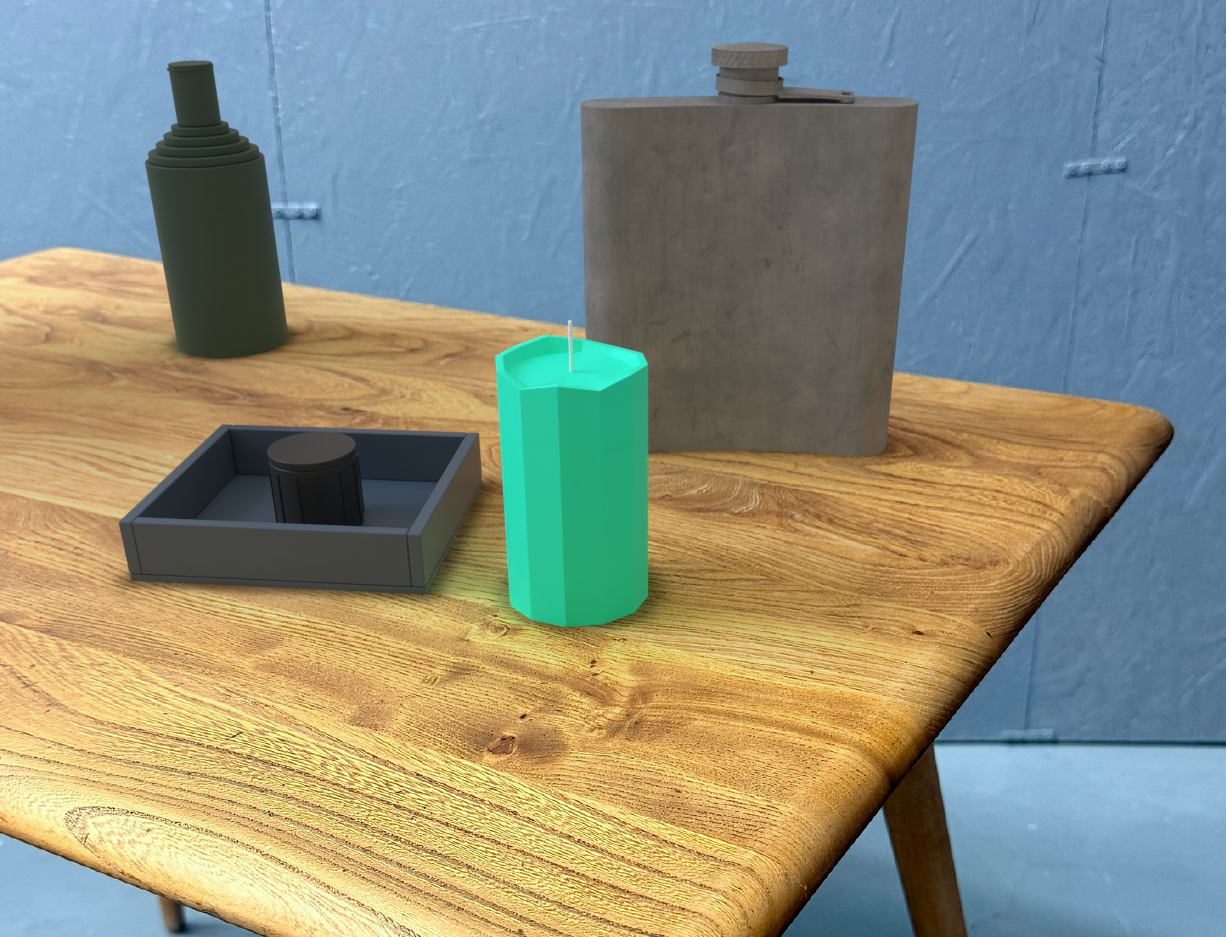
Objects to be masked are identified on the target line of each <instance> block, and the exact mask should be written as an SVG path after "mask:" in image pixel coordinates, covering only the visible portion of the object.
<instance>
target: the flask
mask: <svg viewBox="0 0 1226 937" xmlns="http://www.w3.org/2000/svg"><path fill="white" fill-rule="evenodd" d="M214 67H215V66H214V63H213V61H210V60H181V61H180V60H179V61H171V62H170V63H167V68H166V71H167V72H168V75H169V80H170V86H171V93H172V99H173V105H174V111H175V117H176V122H175V123H173V124H171V125H170V130H169V131H167V132H165V133H163V135H162V138H163V139H161V140H158V141H157V142H156V143H155V148H153V149H151V150H149V151H148V152H147V157H148V158H147V159H146V160H145V161H144V166H145V171H146V177H147V183H148V189H149V194H150V200H151V205H152V210H153V217H154V221H155V222H154V223H155V228H156V233H157V239H158V245H159V250H160V256H161V262H162V267H163V272H164V277H165V278H164V279H165V284H166V289H167V296H168V300H169V306H170V311H171V317H172V323H173V329H174V334H175V341H176V345H177V349H178V350H179V352H181V353H183V354H185V355H188V356H191V357H197V358H204V359H232V358H241V357H249V356H253V355H258V354H263V353H266V352H270V351H272V350H275V349H277V348H280V347H282V346H283V345H285V344H286V343H288V341H289V338H290V336H289V328H288V323H287V314H286V313H287V312H286V307H285V299H284V293H283V291H284V290H283V285H282V278H281V270H280V263H279V255H278V248H277V240H276V234H275V232H276V231H275V225H274V217H273V211H272V210H273V209H272V203H271V196H270V189H269V188H270V187H269V180H268V174H267V166H266V159H265V154H264V153H262V152H261V151H260V147H259V145H257V144H255V143H253V142H250V140H249V138H248V137H247V136H245V135H240V132H239V130H238V129H237V128H232V127H230V124H229V122H228V121H227V120H226V121H225V120H222V118H221V110H220V105H219V104H220V103H219V96H218V90H217V84H216V77H215V70H214Z"/></svg>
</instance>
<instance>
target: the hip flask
mask: <svg viewBox="0 0 1226 937" xmlns="http://www.w3.org/2000/svg"><path fill="white" fill-rule="evenodd" d="M710 56H711V57H710V59H711V60H710V64H711V66H714V67H718V72H717V73H716V74H715V85H714V89H715V90H716V91H717V95H684V96H683V95H679V96H677V95H675V96H641V97H640V96H637V97H607V98H593V99H587V100H584V101H581V102H580V104H579V106H580V143H581V144H580V145H581V147H580V148H581V150H580V151H581V185H582V186H581V187H582V188H581V189H582V228H583V229H582V231H583V234H582V235H583V271H584V273H583V276H584V277H583V278H584V280H583V281H584V282H583V283H584V319H585V320H584V322H585V323H584V324H585V325H584V326H585V339H586V340H590V341H595V342H599V343H603V344H608V345H612V346H617V347H621V348H625V349H629V350H633V351H636V352H640V353H643V355H644V357H645V359H646V361H647V363H648V453H654V452H657V453H658V452H687V451H691V452H693V451H739V452H741V451H745V452H747V451H749V452H750V451H751V452H752V451H753V452H782V453H783V452H786V453H803V454H804V453H805V454H819V455H820V454H821V455H833V456H845V457H857V458H859V457H864V458H865V457H872V456H875V455H880V454H882V453H883V452H885V451H886V449H887V444H888V443H887V442H888V433H889V432H888V431H889V421H890V410H891V400H892V390H893V378H894V369H895V358H896V346H897V336H898V327H899V315H900V306H901V295H902V285H903V275H904V274H903V273H904V264H905V253H906V252H905V251H906V242H907V241H906V240H907V234H908V233H907V232H908V221H909V210H910V201H911V189H912V180H913V179H912V178H913V171H914V170H913V167H914V158H915V147H916V138H917V137H916V136H917V125H918V117H919V106H920V102H919V101H918V100H916V99H912V98H906V97H895V96H865V95H863V96H862V95H861V96H860V95H859V96H858V95H856V96H855V92H854V91H852V90H842V89H841V90H840V89H825V88H814V87H800V86H799V87H798V86H788V85H787V86H785V85H784V82H785V78H784V77H782V76H779V75H780V73H779V72H780V67H783V66H784V67H785V66H787V65H788V63H789V62H788V61H789V46H788V45H784V44H780V43H779V44H778V43H770V42H760V41H759V42H757V41H742V42H732V43H731V42H730V43H723V44H715V45H712V46H711V51H710Z"/></svg>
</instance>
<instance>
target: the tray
mask: <svg viewBox="0 0 1226 937" xmlns="http://www.w3.org/2000/svg"><path fill="white" fill-rule="evenodd" d="M307 432H334V433H340V434H344V435H347V436H349V437H351V438H352V439H353V440H354V441H355V443H356V450H357V455H358V457H359V466H360V475H361V483H362V492H363V501H364V510H365V512H364V522H363V524H362V526H337V525H313V524H289V523H276V517H275V510H274V504H273V497H272V491H271V484H270V477H269V471H268V466H269V460H268V455H267V451H268V448H269V447H270V446H271V445H272V444H273V443H274V442H276V441H278V440H280V439H282V438H285V437H288V436H291V435H296V434H301V433H307ZM480 440H481V439H480V433H479V432H472V431H471V432H470V431H469V432H466V431H442V430H441V431H438V430H412V429H411V430H410V429H409V430H408V429H378V428H377V429H376V428H353V427H352V428H351V427H350V428H348V427H347V428H346V427H321V426H319V427H318V426H290V425H289V426H288V425H287V426H285V425H262V424H261V425H258V424H257V425H256V424H231V423H230V424H229V423H228V424H226V423H222V424H221V425H220V426H218V427H217V429H215V430H214V431H213V432H212V433H211V434H210V435H209V436H208V437H207V438H206V439H204V440H203V442H201V444H200V445H198V447H196V448H195V449H194V450H193V451H192V452H191V453H190V454H189V455H188V456H187V457H186V458H185V459H184V460H182V461H181V462H180V464H178V465H177V466H176V467H175V468H174V469H173V470H172V471H171V472H170V473H169V474H168V475H166V477H165V478H163V479H162V480H161V482H159V483H158V484H157V485H156V486H155V487H154V488H153V489H152V490H150V492H149V493H148V494H146V495H145V496H144V497H143V498H142V499H141V500H140V501H139V502H138V503H137V504H136V505H135V506H133V507H132V509H131V510H129V511H128V512H127V513H126V514H125V515H124V516H123V517H122V518H121V519H119V521H118V526H119V531H120V536H121V540H122V546H123V550H124V556H125V559H126V565H127V569H128V573H129V578H130V581H131V582H146V583H147V582H149V583H170V584H191V585H212V586H231V587H232V586H233V587H234V586H235V587H251V588H252V587H255V588H274V589H277V588H278V589H294V590H295V589H298V590H316V591H317V590H320V591H340V592H358V593H360V592H361V593H379V594H380V593H382V594H383V593H384V594H401V595H403V594H404V595H421V596H422V595H427V594H428V592H429V590H430V588H431V586H432V584H433V582H434V581H435V578H436V577H437V574H438V572H439V571H440V569H441V567H442V565H443V563H444V561H445V560H446V557H447V555H448V553H449V552H450V549H451V548H452V546H453V543H454V542H455V541H456V538H457V536H458V534H459V532H460V530H461V528H462V527H463V524H464V523H465V521H466V518H467V517H468V515H469V513H470V511H471V509H472V507H473V505H474V503H475V501H476V500H477V497H478V495H479V493H480V492H481V490H482V488H483V480H482V479H483V471H482V470H483V469H482V457H481V456H482V455H481V442H480Z"/></svg>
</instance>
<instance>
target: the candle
mask: <svg viewBox="0 0 1226 937" xmlns="http://www.w3.org/2000/svg"><path fill="white" fill-rule="evenodd" d="M567 331H568V332H567V333H568V334H567V335H568V336H561V335H552V334H542V335H540V336H537V337H534V338H532V339H529V340H525V341H524V342H521V343H518V344H515V345H512V346H511V347H509V348H507V349H505V350H504V351H501V352H500V353H498V354H496V355H495V356H494V357H495V358H494V359H495V360H494V361H495V372H496V373H495V374H496V392H497V393H496V394H497V409H498V424H499V425H498V426H499V427H498V428H499V443H500V444H499V445H500V446H499V447H500V461H501V474H502V475H501V476H502V477H501V478H502V493H503V494H502V496H503V511H504V512H503V513H504V527H505V528H504V529H505V544H506V546H505V547H506V561H507V562H506V563H507V578H508V579H507V580H508V591H509V592H508V594H509V603H510V606H511V607H512V608H513V609H514V610H517V611H518V612H519V613H521V614H522V615H523V616H525V617H526V618H528V619H529V620H530V621H536V622H540V623H545V624H550V625H555V626H558V627H559V626H560V627H564V628H570V627H585V626H598V625H599V626H600V625H605V624H609V623H611V622H613V621H616V620H619V619H621V618H624V617H627V616H629V615H632V614H634V613H635V612H636V611H637V610H638V609H639V608H640V607H641V606H642V604H644V602H645V601H646V600H647V598H648V597H649V452H648V363H647V361H646V359H645V357H644V355H643V353H640V352H636V351H633V350H629V349H625V348H621V347H617V346H612V345H608V344H603V343H599V342H595V341H590V340H586V338H578V337H573V321H572V320H571V319H570V320H568V321H567Z"/></svg>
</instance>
